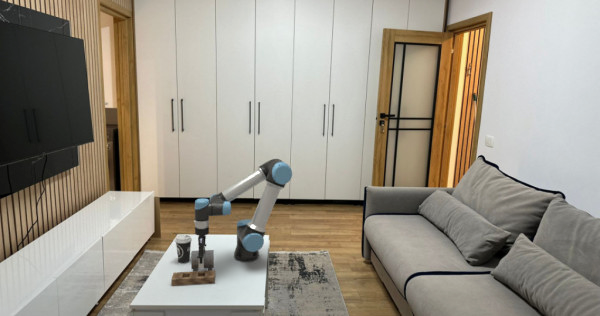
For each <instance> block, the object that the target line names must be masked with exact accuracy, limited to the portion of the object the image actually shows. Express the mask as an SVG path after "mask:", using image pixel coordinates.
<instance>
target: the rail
mask: <svg viewBox="0 0 600 316" xmlns="http://www.w3.org/2000/svg"><path fill="white" fill-rule="evenodd" d="M170 280H171V287H173V286H176V287H177V286H191V285H194V286H196V285H209V284H213V285H214V284H215V283H216V270H213V269H212V271H208V270H198V271H194V272H193V271H181V272H180V271H179V272H177V271H175V272H173V273H172V277H171V279H170Z"/></svg>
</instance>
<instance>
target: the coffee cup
mask: <svg viewBox="0 0 600 316" xmlns="http://www.w3.org/2000/svg"><path fill="white" fill-rule="evenodd" d="M192 239H193V238H192V237H191V235H190V234H185V233H184V234H179V235H177V236H176V237H175V240H174V242H175V246H176V253H177V261H178V263H180V264H185V263H186V264H187V263H189V262H191V248H192V246H191V245H192V241H193V240H192Z"/></svg>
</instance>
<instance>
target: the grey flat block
mask: <svg viewBox="0 0 600 316" xmlns="http://www.w3.org/2000/svg"><path fill="white" fill-rule="evenodd" d="M214 252H215V251H214V249H205V250H204V253H203V256H204V269H207V271H213V269H214V268H215V267H214V266H215V261H214V260H215V259H214V258H215V256H214V255H215V254H214ZM198 253H199V250H192V251H190V265H191V270H192V272H194V271H199V270H200V269H199V259H198V258H197V256H198ZM200 256H202V255H200Z"/></svg>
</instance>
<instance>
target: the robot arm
mask: <svg viewBox="0 0 600 316" xmlns="http://www.w3.org/2000/svg"><path fill="white" fill-rule="evenodd" d="M292 178H293V170H292V168H291V166H289V164H288V163H286V162H284V161H283V160H281V159H279V158H272V159H270V160H268V161H266V162H264V163H262V164H261V165H259V166H258V167H257V169H256V170H255V171H253V172H252V173H249V174H248V175H247V176H244V177H243V178H242V179H240V180H238V181H237V182H235V183H234V184H231V186H229V187H227V188H225V189H224V190H222V191H220V192H219V193H214V194H211V196H210V197H209V199H208V198H197V199H196V200H195V201H194V221H193V223H194V234H195V235H196V236H198V237H197V242H198V243H197V244H198V251H199V253H198V256H197V258H198V259H199V269H198V270H203V269H204V256H203V253H204V250H206V247H207V243H206V239H207V235H208V234H209V233H210V227H209V226H210V217H218V216H229V215H231V213H232V205H231V204H232V203H231V202H232V201H234V200H235V199H237V198H238V197H239V196H241V195H243V194H244V193H246V192H248V191H249V190H251V189H252V188H254V187H256V186H257V185H259V184H260V183H263V182H264V181H265V183H266V186H264V189H263V192H262V193H261V194H262V195H261V197H260V199H259V201H258V204H257V207H256V208H255V210H254V214H253V216H252V217H251V219H249V218H247V219H241V220H238V221H237V223H236V245H235V246H236V247H235V250H234V253H233V258H234V260H236V261H238V262H239V261H240V262H251V261H252V262H253V261H256V260H257V259H258V258H259V257H260V253H259V250H261V249H262V248H263V246H264V244H265V239H264V237H265V234H266V233H267V230H266V226H267V225H266V224H267V223H268V220H269V217H270V216H271V213H272V211H273V208H274V207H275V203H276V201H277V200H278V199H277V198H278V196H279V194H280V192H281V190H283V189H285V186H286V184H287V183H289V182H290V181H291V180H292ZM200 255H202V256H200Z"/></svg>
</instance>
